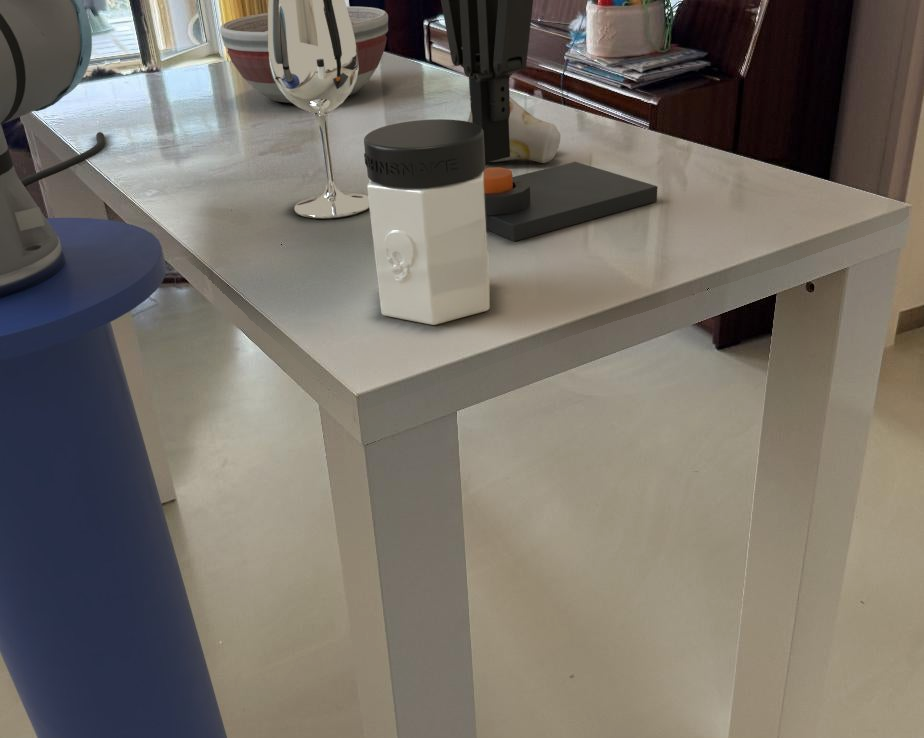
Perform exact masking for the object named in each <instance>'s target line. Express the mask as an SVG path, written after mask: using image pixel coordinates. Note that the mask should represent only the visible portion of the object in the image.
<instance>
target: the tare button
mask: <svg viewBox="0 0 924 738" xmlns="http://www.w3.org/2000/svg"><path fill="white" fill-rule="evenodd" d="M484 173H485V194H491V193H501V192H505V191H509V190H512V189H513V178H512V177H513V171H512V170H511V169H510V168H506V167H485V169H484Z"/></svg>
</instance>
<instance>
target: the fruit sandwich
mask: <svg viewBox="0 0 924 738" xmlns="http://www.w3.org/2000/svg"><path fill="white" fill-rule="evenodd" d="M509 101H510V105H509V106H510V116H509V141H510V157H507V158H503V159H499V160H494V161H490V162H489V163H498V162H499V163H500V162H506V161H513V160H514V161H515V160H527V161H531V162H537V163H539V164H546V163H548V162H550V161H551V160H553V158H554V157H555V156H556V155H557V152H558V149H559V148H560V143H561V132H560V130H559V129H558V127H557V126H556V125H555V124H554V123H551V122H548V121H545V120H542V119H539V118H537V117H535V116H533V115H532V114H531V113H530V112H528V111H527V110H526V109H525V108H524V107H522V106H521V105H520V104H519V103H518V102H517V101H515V100H514V99H513V98H512V97H510V100H509ZM467 122H471V123H473V121H472V112H471V111H470V112H469V115H468V119H467Z"/></svg>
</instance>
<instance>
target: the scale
mask: <svg viewBox="0 0 924 738" xmlns="http://www.w3.org/2000/svg"><path fill="white" fill-rule="evenodd" d="M512 178H513V189H512V190H509V191H505V192H501V193H491V194H485V195H486V216H487V231H489V232H491V233H493V234H496V235H499V236H501V237H503V238H505V239H507V240H511V241H513V242H517V241H520V240H524V239H529V238H531V237H535V236H538V235H542V234H546V233H549V232H552V231H556V230H560V229H564V228H567V227H571V226H574V225H578V224H582V223H584V222H588V221H591V220H595V219H599V218H603V217H606V216H610V215H614V214H617V213H621V212H624V211H628V210H631V209H635V208H638V207H641V206H645V205H650V204H652V203H657V201H658V189H659V187H658V185H655V184H652V183H648V182H645V181H641V180H639V179H635V178H631V177H629V176H626V175H625V176H624V175H621V174H619V173H614V172H611V171H608V170H605V169H601V168H598V167H595V166H591V165H588V164H585V163H581V162H578V161H571V162H568V163H564V164H559V165H556V166H552V167H547V168H543V169H539V170H535V171H531V172H527V173H523V174H519V175H515V176H512Z"/></svg>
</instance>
